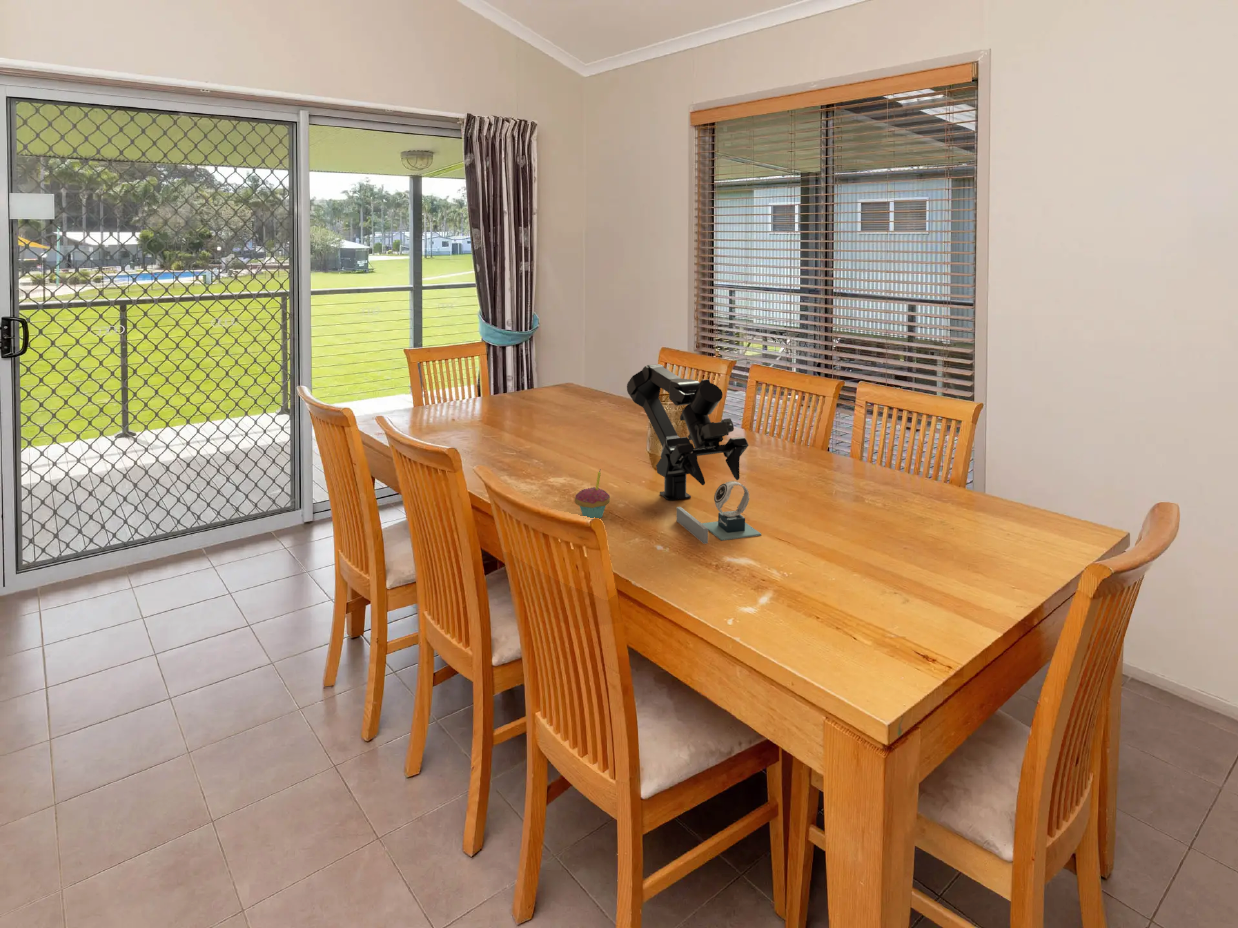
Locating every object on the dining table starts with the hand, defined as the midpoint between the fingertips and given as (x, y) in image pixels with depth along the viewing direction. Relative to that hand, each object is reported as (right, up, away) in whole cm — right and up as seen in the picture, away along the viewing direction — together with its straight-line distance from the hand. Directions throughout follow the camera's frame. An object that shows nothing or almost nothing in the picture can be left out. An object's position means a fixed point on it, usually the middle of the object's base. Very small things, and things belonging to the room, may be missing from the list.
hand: (721, 481), depth 194 cm
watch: (+2, -11, -1) cm, 11 cm away
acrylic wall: (-7, -11, -3) cm, 14 cm away
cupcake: (-30, -9, +8) cm, 33 cm away
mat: (+2, -11, -2) cm, 11 cm away
